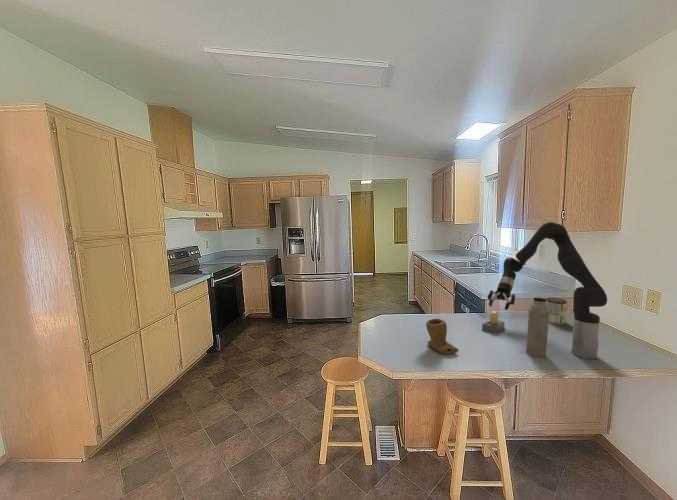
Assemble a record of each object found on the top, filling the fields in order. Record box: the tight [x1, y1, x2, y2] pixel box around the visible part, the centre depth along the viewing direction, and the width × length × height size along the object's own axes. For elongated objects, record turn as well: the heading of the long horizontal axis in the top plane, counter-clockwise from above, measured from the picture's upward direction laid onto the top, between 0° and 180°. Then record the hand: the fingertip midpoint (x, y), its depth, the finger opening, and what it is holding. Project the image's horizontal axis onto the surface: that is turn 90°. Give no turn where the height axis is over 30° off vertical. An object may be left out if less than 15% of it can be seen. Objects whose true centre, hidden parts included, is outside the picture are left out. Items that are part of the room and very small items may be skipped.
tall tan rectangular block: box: [489, 310, 499, 324], centre depth 169 cm, size 4×2×10 cm, turn 132°
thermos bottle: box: [525, 297, 549, 359], centre depth 139 cm, size 8×8×28 cm
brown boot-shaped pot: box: [425, 318, 459, 355], centre depth 147 cm, size 15×12×15 cm
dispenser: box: [481, 318, 506, 334], centre depth 170 cm, size 12×8×6 cm, turn 132°
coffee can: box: [545, 297, 567, 325], centre depth 181 cm, size 10×10×14 cm
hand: (497, 307), depth 172 cm, fingers open, 8 cm apart
